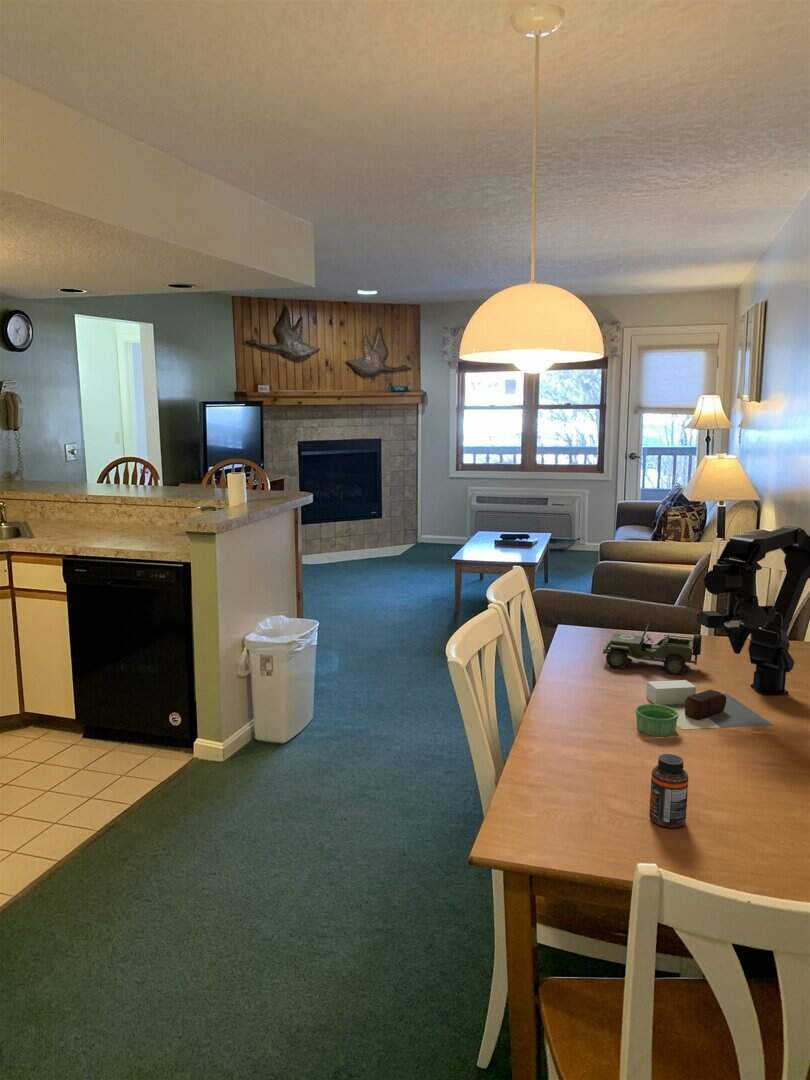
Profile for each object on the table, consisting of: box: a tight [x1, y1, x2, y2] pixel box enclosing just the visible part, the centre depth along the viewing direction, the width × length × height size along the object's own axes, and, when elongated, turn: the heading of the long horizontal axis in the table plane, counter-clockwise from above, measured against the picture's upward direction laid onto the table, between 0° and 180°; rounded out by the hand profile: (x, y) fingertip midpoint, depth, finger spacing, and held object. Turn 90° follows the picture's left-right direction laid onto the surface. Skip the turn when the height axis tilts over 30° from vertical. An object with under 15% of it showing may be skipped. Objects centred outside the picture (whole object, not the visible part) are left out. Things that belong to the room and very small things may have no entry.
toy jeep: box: [602, 622, 703, 676], centre depth 213 cm, size 12×25×11 cm, turn 68°
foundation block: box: [645, 679, 697, 705], centre depth 188 cm, size 10×5×4 cm, turn 97°
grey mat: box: [646, 692, 774, 730], centre depth 182 cm, size 22×20×1 cm
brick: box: [685, 689, 726, 720], centre depth 179 cm, size 11×4×5 cm, turn 127°
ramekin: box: [635, 703, 679, 738], centre depth 171 cm, size 9×9×4 cm
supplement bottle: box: [648, 753, 689, 829], centre depth 132 cm, size 6×6×11 cm
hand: (736, 653), depth 186 cm, fingers closed
